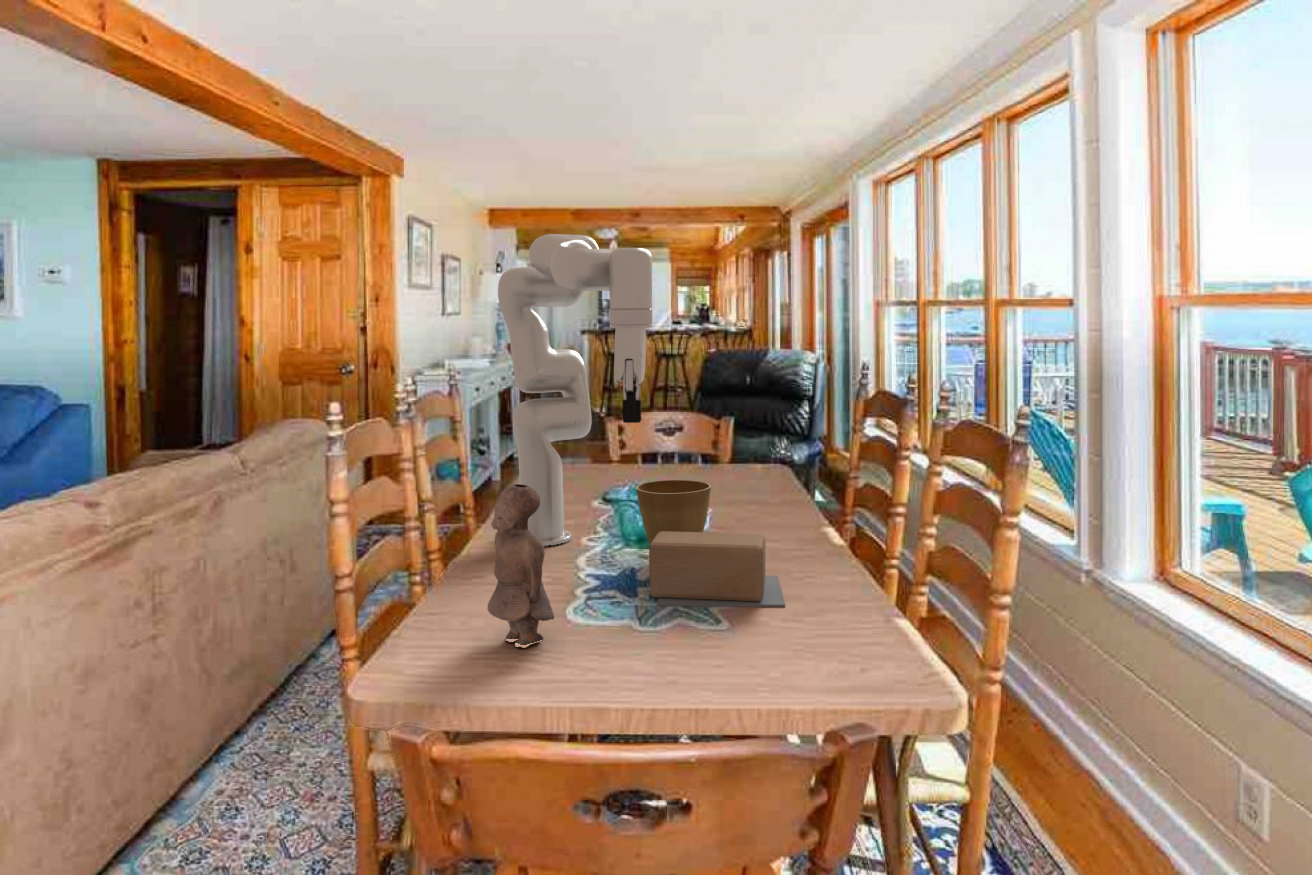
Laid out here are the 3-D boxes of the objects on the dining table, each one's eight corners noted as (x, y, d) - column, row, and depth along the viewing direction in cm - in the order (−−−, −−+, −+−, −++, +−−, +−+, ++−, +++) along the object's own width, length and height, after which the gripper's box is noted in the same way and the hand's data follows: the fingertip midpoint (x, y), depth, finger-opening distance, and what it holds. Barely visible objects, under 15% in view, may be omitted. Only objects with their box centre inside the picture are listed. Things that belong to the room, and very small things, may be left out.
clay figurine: (474, 638, 142) (468, 482, 139) (530, 624, 148) (525, 474, 145) (515, 662, 132) (509, 495, 128) (573, 646, 138) (568, 486, 134)
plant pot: (719, 556, 187) (719, 480, 185) (699, 576, 173) (698, 495, 171) (651, 550, 192) (650, 476, 189) (626, 570, 178) (625, 490, 176)
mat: (657, 605, 156) (657, 603, 156) (662, 576, 173) (662, 574, 173) (785, 606, 155) (785, 604, 155) (777, 577, 172) (777, 575, 172)
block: (648, 598, 159) (762, 603, 156) (647, 543, 158) (763, 547, 154) (658, 581, 169) (765, 585, 165) (657, 529, 167) (765, 532, 164)
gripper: (614, 318, 167) (615, 416, 170) (605, 320, 153) (606, 428, 155) (654, 318, 167) (655, 416, 170) (649, 320, 152) (650, 428, 155)
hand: (632, 421), depth 162 cm, fingers closed
